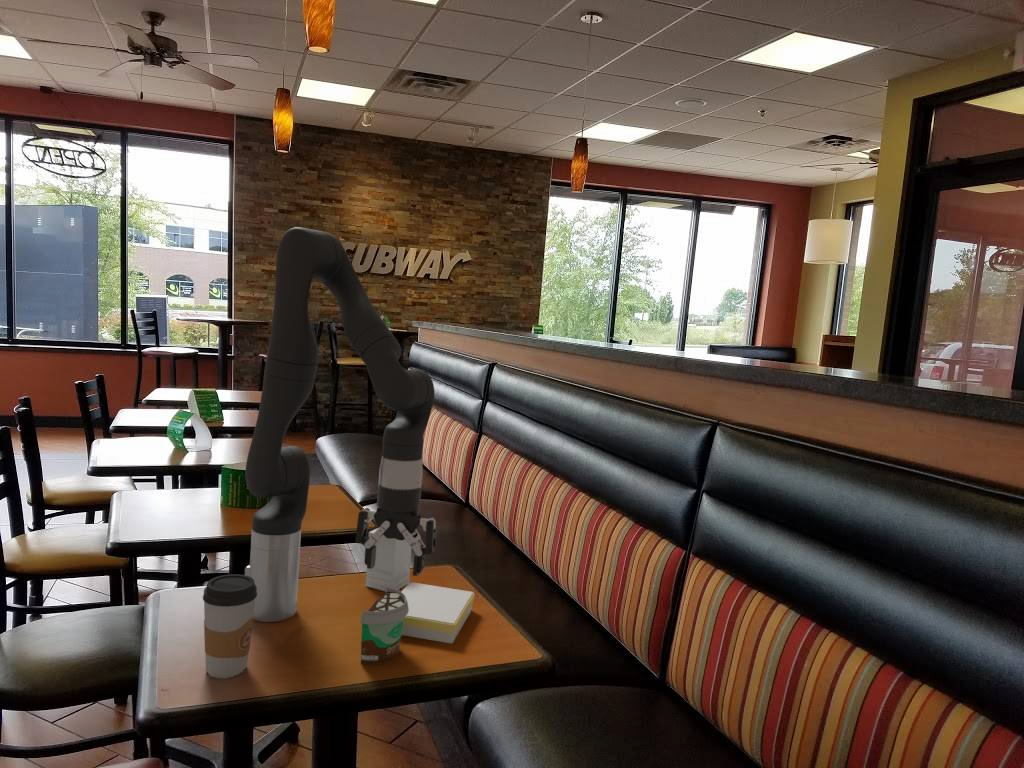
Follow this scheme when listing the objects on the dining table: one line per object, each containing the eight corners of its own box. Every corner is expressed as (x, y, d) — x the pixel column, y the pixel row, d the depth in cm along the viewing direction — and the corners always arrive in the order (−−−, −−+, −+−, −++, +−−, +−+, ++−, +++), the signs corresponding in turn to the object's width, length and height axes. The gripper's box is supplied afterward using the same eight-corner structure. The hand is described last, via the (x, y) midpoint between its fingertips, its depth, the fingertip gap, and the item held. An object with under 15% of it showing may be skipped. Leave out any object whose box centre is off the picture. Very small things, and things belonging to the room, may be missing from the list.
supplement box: (410, 583, 160) (414, 529, 159) (391, 594, 153) (396, 538, 152) (383, 576, 163) (387, 523, 161) (363, 586, 156) (367, 531, 155)
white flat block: (381, 632, 135) (382, 612, 134) (408, 599, 151) (409, 581, 150) (453, 644, 132) (455, 624, 132) (473, 610, 148) (474, 592, 148)
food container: (390, 673, 120) (395, 617, 119) (357, 667, 121) (361, 611, 120) (414, 642, 132) (418, 591, 131) (384, 636, 133) (387, 585, 132)
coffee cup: (235, 686, 112) (240, 596, 110) (188, 677, 113) (192, 588, 112) (262, 661, 120) (267, 577, 119) (218, 653, 121) (222, 570, 120)
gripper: (353, 481, 121) (347, 572, 123) (433, 492, 119) (425, 584, 120) (369, 472, 128) (363, 558, 130) (444, 482, 126) (437, 569, 128)
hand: (393, 570), depth 125 cm, fingers open, 8 cm apart
